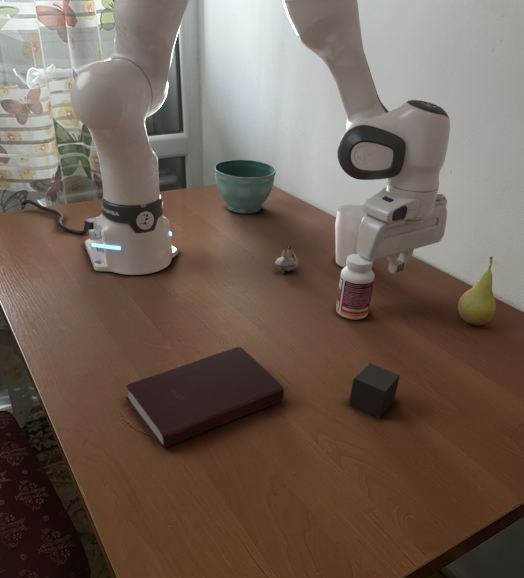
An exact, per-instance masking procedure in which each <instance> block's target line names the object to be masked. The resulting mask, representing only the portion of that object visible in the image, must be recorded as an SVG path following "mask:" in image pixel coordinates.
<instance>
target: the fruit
mask: <svg viewBox="0 0 524 578" xmlns="http://www.w3.org/2000/svg"><path fill="white" fill-rule="evenodd" d="M488 259H489V266H488V268H487V271H485V272H484V273H483V275H482V276H481V277H480V278H479V279H478V280H477V281H476V283H475V284H474V285H473V286H472V287H471V288H469V289H468V290H466V291H464V292H463V294H462V295H461V296H460V298H459V299H458V302H457V311H458V314H459V315H460V317H461V319H462V320H463V321H464V322H465V323H468V324H469V325H472V326H482V325H485V324H486V323H488V322H489V321H491V320H492V318H493V317H494V315H495V313H496V309H497V303H496V298H495V295H494V292H493V273H492V265H493V256H492V255H491V256H489V258H488Z"/></svg>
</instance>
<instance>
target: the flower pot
mask: <svg viewBox="0 0 524 578" xmlns="http://www.w3.org/2000/svg"><path fill="white" fill-rule="evenodd" d="M213 168H214V174H215V183H216V188H217V190H218V191H217V192H218V193H219V195H220V197H221V198H222V200H223V201H224V202H225V206H226V209H228V210H229V211H231V212H234V213H237V214H238V213H239V214H255V213H257V212H259V211H261V209H262V206H263V204H264V203H265V202H266V200H267V199H268V198H269V196H270V194H271V192H272V190H273V187H274V182H275V181H274V180H275V176H276V172H277V169H276V167H274V166H273V165H272V164H269V163H267V162H263V161H259V160H253V159H252V160H251V159H229V160H222V161H219V162H217V163H216V164H215V165H214V167H213Z"/></svg>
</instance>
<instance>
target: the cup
mask: <svg viewBox="0 0 524 578" xmlns="http://www.w3.org/2000/svg"><path fill="white" fill-rule="evenodd" d="M336 211H337V212H336V217H335V222H334V229H335V230H334V231H335V232H334V236H335V237H334V238H335V239H334V240H335V241H334V243H335V245H334V246H335V264H337V265H338V266H339V267H341V268H344V267H346V261H347V257H348V256H349V255H352V254H358V253H357V251H356V245H357V238H358V232H359V227H360V223H361V221H362V219H363V217H364V216H365V215H366V213H365V212H363V204H354V203H353V204H350V203H349V204H343V205H340V206H339V207H338V208H337V210H336Z"/></svg>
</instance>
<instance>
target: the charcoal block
mask: <svg viewBox="0 0 524 578" xmlns="http://www.w3.org/2000/svg"><path fill="white" fill-rule="evenodd" d="M400 377H401V375H400V374H398V373H395V372H393V371H390V370H388V369H386V368H383V367H381V366H379V365H376V364H374V363H371V362H368V363H367V364H366V365H365V366H364V367H363V368H362V369H361V370H360V371H359V372H358V373H357V374H356V375H355V376H354V377H353V380H352V385H351V391H350V398H349V401H348V405H349V406H351V407H353V408H354V409H357V410H359V411H362V412H364V413H366V414H368V415H371V416H373V417H375V418H377V419H381V418H382V416H383V415H384V414H385V413H386V412H387V411H388V409H389V408H390V407H391V406H392V405H393V403H394V402H395V398H396V395H397V389H398V387H399V381H400Z"/></svg>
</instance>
